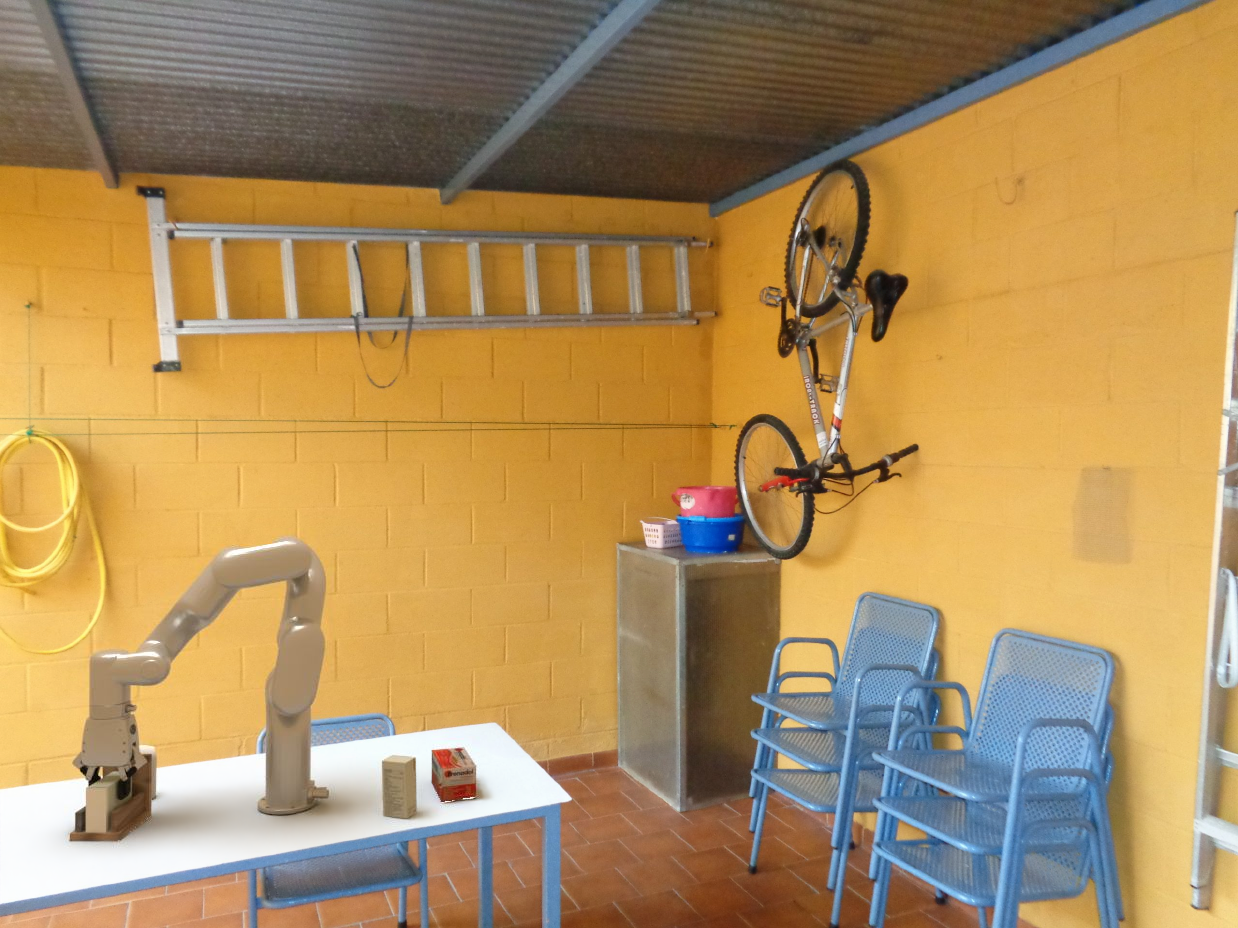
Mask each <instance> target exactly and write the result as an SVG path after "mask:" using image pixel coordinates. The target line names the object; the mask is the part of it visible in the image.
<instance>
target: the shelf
mask: <svg viewBox="0 0 1238 928" xmlns="http://www.w3.org/2000/svg"><path fill="white" fill-rule="evenodd" d="M142 755H143V756H144V757H145V759H146V760H147V763H146V764H144V765H143V766H142V767H141V768H139V769H138V770H137V771H136V772H135V773H134V774H133V776H132V798H131V799H130V800H129V801H127V802H126V803H124V804H123V805H121V806H120V807H119V808H117V809H116V810H114V811H113V812H112V813H111V829H110V830H109V831H108V832H106V833H86V805H85V806H83V807H82V808H80V809H79V810H77V811H76V812H74V830H73V831H70V833H69V842H119V841H118V840H120V841H121V840H123V839H124V838H125V837H126V835H127V834H128V833H129V832H130V831H132V830H133V829H134V828H135V827H137V826H138V827H140V826H141V825H142V824H143V823H145V822H146V821H147V820H148V819H147V818H149V817H150V816H151V817H152V799H151V792H152V754H142ZM130 763H131V766H134V765H135V764H136V761H135V760H134V761H130ZM113 771H119V770H118V767H102V778H103V777H105V776H107V775H108V774H110V773H111V772H113ZM151 817H150V818H151ZM150 818H149V819H150ZM146 819H147V820H146ZM145 820H146V821H145ZM144 821H145V822H144ZM142 822H143V823H142ZM141 823H142V824H141ZM140 824H141V825H140ZM139 825H140V826H139ZM138 827H137V828H138ZM134 830H135V829H134ZM134 830H133V831H134ZM133 831H132V832H133ZM129 834H130V833H129ZM129 834H128V835H129ZM128 835H127V836H128ZM124 836H125V837H124ZM123 837H124V838H123ZM122 838H123V839H122Z"/></svg>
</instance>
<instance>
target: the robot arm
mask: <svg viewBox="0 0 1238 928" xmlns="http://www.w3.org/2000/svg"><path fill="white" fill-rule="evenodd" d="M326 578H327V576H326V572H325V569H324V566H323V563H322V561H321V559H320V557H319V556H318V554H317V552H316V551H314V549H313V548H311V546H309V544H307V543H306V542H305V541H303V540H302V538H301V539H300V538H299V537H297V536H292V535H284V536H281V537H279V538H277V539H276V540H274V541H273V542H272V543H268V544H262V545H258V546H257V545H256V546H250V547H240V546H237V545H235V546H233V545H231V546H227V547H225V548H223V549H221V550H220V551H219V552H218V553H217V554H216V555H215V556H214V557H213V559H212V560H211V561H210V562H209V563H208V564H207V565H206V566H205V568H204V569H203V570H202V571H201V573H199V575H198V577H196V579H195V580H194V581H193V582H192V583H191V585H190V586H189V587H188V589H186V590H185V592H184V593H183V594H182V595H181V597H180V598H178V600H177V601H176V602H175V604H174V605H173V606H172V608H171V609H170V610H169V611H168V613H167V614H166V615H165V616H164V617H163V618H162V619H161V620H160V622H159V623H158V624H157V625H156V626H155V627H154V629H153V630H152V631H151V632H150V634H148V636H147V637H146V638H145V640H144V641H143V642H142V643H141V644H140V645H139V647H137V650H135V652H131V653H130V652H129V651H127V650H124V649H119V648H115V649H113V648H112V649H110V648H109V649H105V650H99V651H97V652H94V653H92V655H91V656H90V658H89V673H88V674H89V677H88V678H89V681H88V682H89V683H88V684H89V687H88V688H89V693H88V695H89V701H88V702H89V705H88V709H89V710H88V713H89V714H88V717H87V718H86V719H85V722H84V728H83V733H82V738H81V739H82V740H81V751H80V752H79V753H78V754H77V756H76V757H75V758H74V759H73V760H72V761H71V763H72V765H73V766H74V767H76V769H77V770H79V771H80V773H81V774H82V775H83V776H84V777H85V778H84V779H85V780H86V781H88V782H87V783H88V784H87V787H89V786H90V785H92V784H94V783H95V782H97V781H99V780H100V779H102V776H101V775H99V773H100V770H101V768H103V767H118V770H119V773H120V777H121V780H120V781H119V782H118V799H119V800H123V799H124V798H126V797H127V796H129V793H130V791H131V776H133V774H134V773H135V772H136V771H137V770H138V769H139V768H141V767H142V766H143V765H144V764H146V763H147V760H146V759H145V757H144V756H143V755H142V754H141V753H140V749H139V745H140V738H139V728H138V723H137V718H136V716H135V714H134V713H132V712H136V711H137V707H138V706H137V704H133V703H132V700H131V686H137V687H149V686H150V687H151V686H152V687H153V686H156V685H159V684H161V683H163V682H164V681H165V680H166V679H167V678H168V676H169V674H170V672H171V668H172V663H173V661H175V659H176V658H177V656H179V654H180V653H181V652H182V651H183V650H184V648H185V647H186V646H187V644H188V643H189V642H191V640H192V639H193V638H194V637H195V636H196V635H197V634H198V633H199V632H201V631H202V630H204V629H206V628H207V627H208V626H210V625H211V624H212V623H213V622H214V621H216V620H217V618H218V617H219V615H220V614H221V613H222V611H224V610H225V608H226V607H227V605H228V604H229V603H230V602H231V600H233V598H234V597H235V596H236V595H237V594H238V592H239V591H240V590H241V589H242V590H243V589H248V588H249V589H250V588H254V587H255V588H256V587H260V586H264V585H265V586H266V585H269V584H274V583H280V582H285V584H286V586H285V587H286V590H285V596H284V602H283V603H284V604H283V609H282V613H281V617H280V618H281V619H280V622H279V628H278V630H277V633H276V644H277V648H278V651H277V656H276V662H275V666H274V667H273V668H272V669H271V671H270V672H269V673H268V675H267V677H266V680H265V687H264V697H265V796H263V797H262V798H260V799H259V801H258V802H257V808H258V810H259V811H260V812H261V813H263V814H264V813H265V814H267V815H277V816H278V815H280V816H281V815H291V814H296V813H301V812H304V811H307V810H309V809H311V808H313V807H314V806H316V805H317V804H318V801H319V800H318V799H320V800H321V799H325V800H326V799H327V800H328V799H329V796H330V789H328V787H327V786H317V785H315V783H316V782H315V781H316V780H315V779H312V778H311V773H312V772H311V766H312V765H311V763H312V762H311V755H312V754H311V753H312V747H311V746H312V741H311V740H312V707H311V706H312V705H313V704H314V702H315V701H316V698H317V697H316V696H317V693H318V688H319V684H320V679H321V674H322V673H321V672H322V670H323V669H322V668H323V662H324V657H325V653H326V652H325V650H326V638H325V634H324V632H323V629H322V628H321V627H322V626H321V625H322V618H323V613H324V606H325V599H326V593H327V592H326V591H327V579H326ZM134 760H135V761H136V764H135V765H134V766H131V763H130V761H134Z"/></svg>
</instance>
